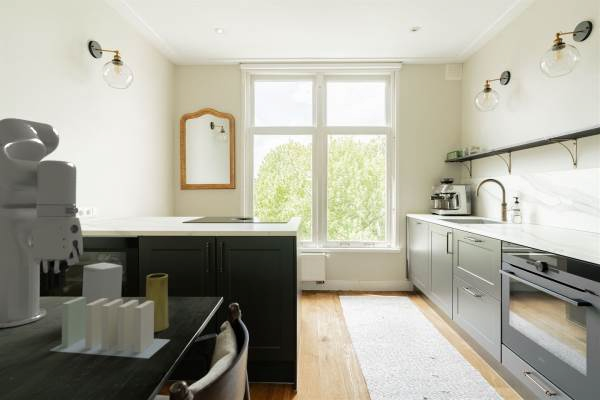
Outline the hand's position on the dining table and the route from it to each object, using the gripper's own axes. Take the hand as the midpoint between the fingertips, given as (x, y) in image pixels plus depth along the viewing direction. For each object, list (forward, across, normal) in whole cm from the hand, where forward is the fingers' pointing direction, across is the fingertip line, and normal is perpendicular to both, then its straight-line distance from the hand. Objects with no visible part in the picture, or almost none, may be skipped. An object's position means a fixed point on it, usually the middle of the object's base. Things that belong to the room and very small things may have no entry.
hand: (55, 288), depth 75 cm
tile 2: (+13, -11, 0) cm, 17 cm away
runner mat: (+13, -15, 0) cm, 20 cm away
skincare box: (+13, 0, -15) cm, 20 cm away
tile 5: (+13, -23, 0) cm, 26 cm away
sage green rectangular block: (+13, -5, 0) cm, 14 cm away
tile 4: (+13, -19, 0) cm, 23 cm away
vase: (+13, -19, -11) cm, 26 cm away
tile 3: (+13, -15, 0) cm, 20 cm away
